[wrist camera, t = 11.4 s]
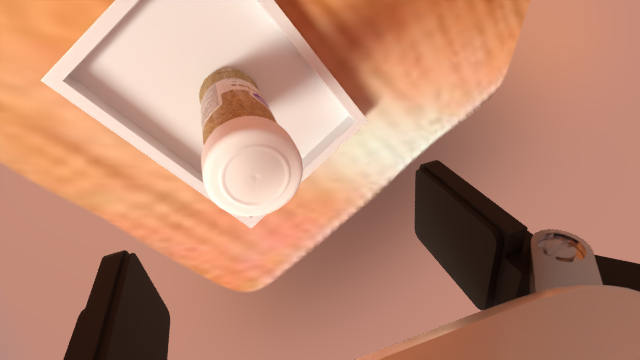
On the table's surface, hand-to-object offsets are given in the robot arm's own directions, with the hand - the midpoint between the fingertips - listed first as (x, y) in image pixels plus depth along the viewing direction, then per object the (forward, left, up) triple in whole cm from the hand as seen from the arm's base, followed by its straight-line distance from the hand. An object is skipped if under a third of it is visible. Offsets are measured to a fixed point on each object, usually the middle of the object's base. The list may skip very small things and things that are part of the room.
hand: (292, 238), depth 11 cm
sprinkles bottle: (0, 0, -19) cm, 19 cm away
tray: (0, 0, -19) cm, 19 cm away
